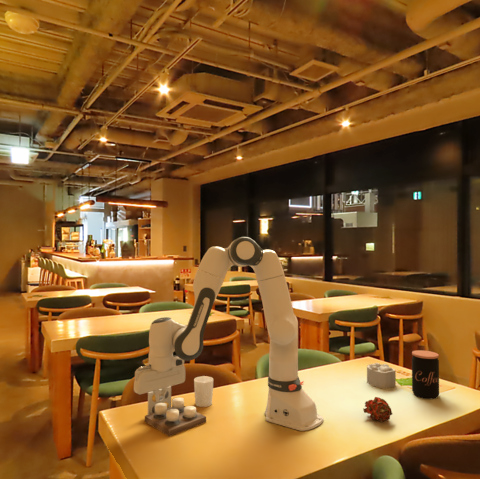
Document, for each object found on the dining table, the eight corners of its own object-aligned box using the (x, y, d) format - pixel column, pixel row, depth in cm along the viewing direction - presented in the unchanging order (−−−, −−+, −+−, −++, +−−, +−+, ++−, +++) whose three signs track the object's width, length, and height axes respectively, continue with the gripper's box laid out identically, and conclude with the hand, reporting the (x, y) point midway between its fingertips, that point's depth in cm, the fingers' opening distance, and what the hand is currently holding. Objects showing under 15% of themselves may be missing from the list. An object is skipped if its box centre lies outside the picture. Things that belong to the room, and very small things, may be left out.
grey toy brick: (383, 389, 178) (382, 370, 179) (361, 381, 190) (361, 362, 190) (398, 385, 183) (398, 366, 184) (376, 377, 195) (376, 360, 195)
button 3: (186, 406, 150) (186, 399, 150) (176, 409, 147) (176, 402, 147) (179, 403, 153) (179, 396, 153) (169, 406, 150) (169, 399, 150)
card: (171, 409, 155) (171, 386, 155) (149, 417, 148) (149, 393, 148) (170, 409, 156) (170, 386, 156) (147, 416, 149) (147, 392, 149)
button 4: (169, 412, 145) (169, 405, 145) (158, 415, 142) (158, 408, 142) (162, 408, 148) (162, 401, 148) (152, 411, 145) (152, 405, 145)
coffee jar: (412, 397, 169) (412, 355, 169) (411, 389, 178) (411, 349, 179) (440, 401, 165) (439, 357, 165) (438, 392, 174) (437, 351, 175)
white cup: (210, 408, 157) (210, 383, 157) (191, 406, 158) (191, 381, 159) (215, 401, 164) (215, 376, 165) (197, 399, 166) (197, 375, 166)
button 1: (198, 415, 144) (198, 408, 145) (188, 418, 141) (188, 411, 142) (191, 411, 148) (191, 405, 148) (181, 415, 145) (181, 408, 145)
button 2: (181, 418, 139) (181, 411, 139) (170, 422, 136) (170, 415, 136) (174, 414, 142) (174, 407, 142) (163, 418, 139) (163, 411, 139)
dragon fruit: (389, 431, 141) (366, 422, 152) (402, 413, 144) (379, 406, 155) (376, 413, 140) (354, 406, 151) (389, 395, 143) (367, 389, 154)
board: (206, 422, 144) (206, 416, 144) (169, 436, 133) (169, 429, 133) (180, 409, 156) (180, 403, 156) (144, 421, 145) (144, 415, 145)
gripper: (139, 370, 136) (138, 410, 136) (188, 359, 150) (187, 395, 150) (130, 365, 140) (130, 405, 140) (178, 355, 155) (177, 391, 154)
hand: (160, 400), depth 145 cm, fingers closed
